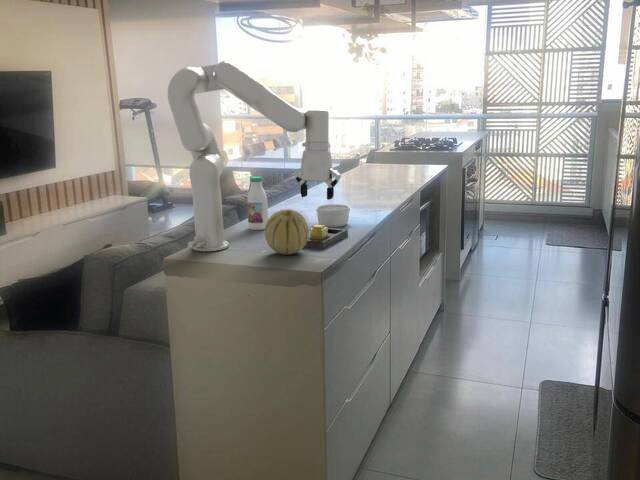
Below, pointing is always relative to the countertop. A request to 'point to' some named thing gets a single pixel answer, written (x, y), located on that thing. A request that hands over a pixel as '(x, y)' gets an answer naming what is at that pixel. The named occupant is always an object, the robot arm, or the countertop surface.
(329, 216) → the ramekin
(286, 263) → the countertop surface
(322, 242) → the grey board with holes
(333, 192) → the robot arm
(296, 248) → the cantaloupe
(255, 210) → the milk bottle
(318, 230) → the yellow rectangular block
